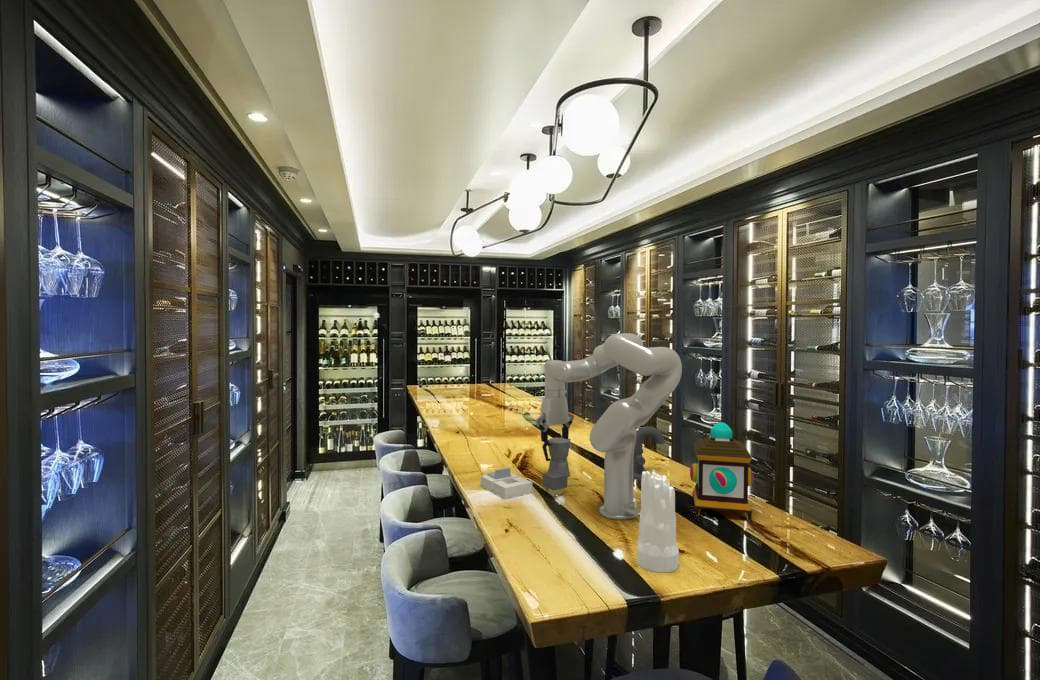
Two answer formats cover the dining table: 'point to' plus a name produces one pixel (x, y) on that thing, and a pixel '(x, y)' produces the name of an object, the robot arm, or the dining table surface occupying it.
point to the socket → (507, 486)
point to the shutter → (500, 473)
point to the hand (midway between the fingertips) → (554, 440)
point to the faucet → (638, 450)
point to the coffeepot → (557, 454)
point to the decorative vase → (657, 525)
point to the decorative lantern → (721, 473)
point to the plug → (555, 482)
